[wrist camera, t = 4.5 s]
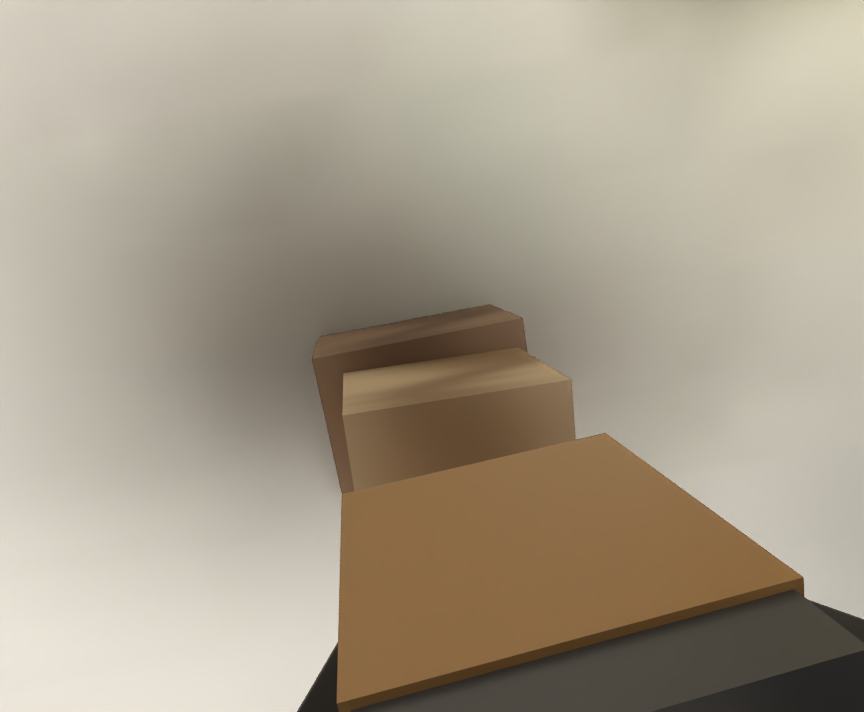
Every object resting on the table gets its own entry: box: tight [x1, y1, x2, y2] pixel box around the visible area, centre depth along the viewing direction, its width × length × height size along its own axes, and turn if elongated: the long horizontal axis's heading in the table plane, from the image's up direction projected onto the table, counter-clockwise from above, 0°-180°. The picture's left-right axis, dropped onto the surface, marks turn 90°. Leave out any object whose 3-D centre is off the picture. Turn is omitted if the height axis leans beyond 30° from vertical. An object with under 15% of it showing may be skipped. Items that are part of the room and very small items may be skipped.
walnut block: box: [312, 304, 527, 494], centre depth 18 cm, size 6×6×4 cm
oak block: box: [342, 347, 575, 491], centre depth 15 cm, size 5×5×4 cm
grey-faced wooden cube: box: [337, 433, 864, 712], centre depth 7 cm, size 4×4×5 cm
